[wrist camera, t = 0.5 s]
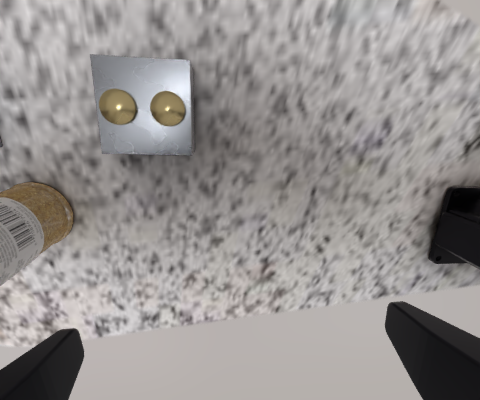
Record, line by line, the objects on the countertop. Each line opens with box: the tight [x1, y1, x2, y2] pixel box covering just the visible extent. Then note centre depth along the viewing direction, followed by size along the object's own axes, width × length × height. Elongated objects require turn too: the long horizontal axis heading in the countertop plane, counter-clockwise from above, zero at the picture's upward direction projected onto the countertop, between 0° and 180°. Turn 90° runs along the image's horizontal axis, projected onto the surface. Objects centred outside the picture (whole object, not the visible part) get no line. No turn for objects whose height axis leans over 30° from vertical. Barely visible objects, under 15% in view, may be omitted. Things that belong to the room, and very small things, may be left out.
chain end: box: [90, 54, 195, 155], centre depth 15 cm, size 5×5×3 cm
